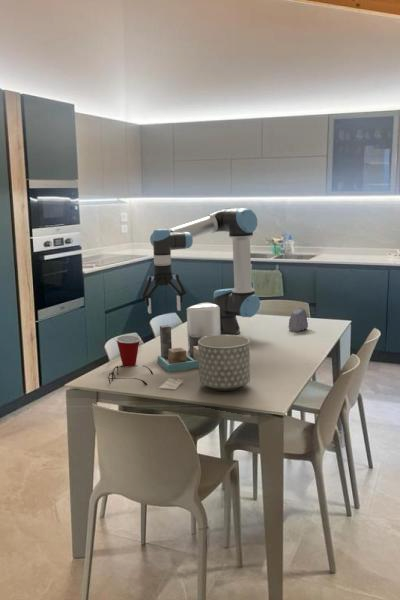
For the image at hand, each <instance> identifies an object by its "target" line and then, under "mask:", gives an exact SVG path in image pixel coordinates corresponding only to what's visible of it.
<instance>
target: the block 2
mask: <svg viewBox="0 0 400 600" xmlns="http://www.w3.org/2000/svg"><path fill="white" fill-rule="evenodd" d="M200 339H201V336H199V335H198V334H197V335H189V346H190V351H189V356H190V357H191V358H193V359H194V360H199V353H198V341H199V340H200Z"/></svg>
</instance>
